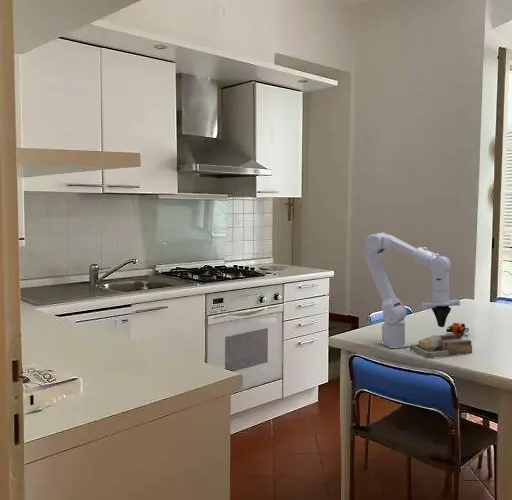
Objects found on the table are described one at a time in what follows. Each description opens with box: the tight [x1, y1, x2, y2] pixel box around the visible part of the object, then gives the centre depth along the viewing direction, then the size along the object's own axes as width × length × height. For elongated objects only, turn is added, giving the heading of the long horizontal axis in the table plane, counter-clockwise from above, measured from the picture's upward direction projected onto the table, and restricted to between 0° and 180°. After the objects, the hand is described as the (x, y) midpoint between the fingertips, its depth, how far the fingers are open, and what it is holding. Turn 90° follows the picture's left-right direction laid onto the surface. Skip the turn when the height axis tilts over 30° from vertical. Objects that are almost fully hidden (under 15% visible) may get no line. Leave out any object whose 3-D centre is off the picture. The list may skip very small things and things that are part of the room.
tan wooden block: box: [418, 337, 434, 352], centre depth 203 cm, size 4×4×3 cm
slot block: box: [435, 333, 473, 356], centre depth 206 cm, size 12×10×4 cm
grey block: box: [426, 334, 443, 348], centre depth 204 cm, size 4×4×3 cm
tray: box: [409, 343, 450, 359], centre depth 204 cm, size 12×8×2 cm
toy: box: [445, 322, 470, 337], centre depth 226 cm, size 8×6×15 cm
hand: (441, 326), depth 204 cm, fingers closed
